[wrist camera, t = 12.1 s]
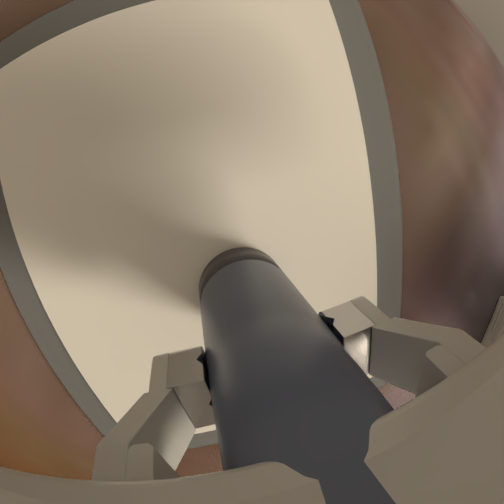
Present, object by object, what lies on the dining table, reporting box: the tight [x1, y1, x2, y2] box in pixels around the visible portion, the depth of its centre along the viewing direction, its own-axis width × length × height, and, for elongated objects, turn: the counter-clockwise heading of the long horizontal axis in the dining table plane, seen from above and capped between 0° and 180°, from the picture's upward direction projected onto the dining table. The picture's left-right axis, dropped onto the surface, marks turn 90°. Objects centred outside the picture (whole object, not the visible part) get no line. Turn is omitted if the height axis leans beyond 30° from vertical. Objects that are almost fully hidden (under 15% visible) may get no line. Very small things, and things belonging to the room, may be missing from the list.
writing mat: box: [0, 0, 403, 449], centre depth 12 cm, size 26×20×1 cm
